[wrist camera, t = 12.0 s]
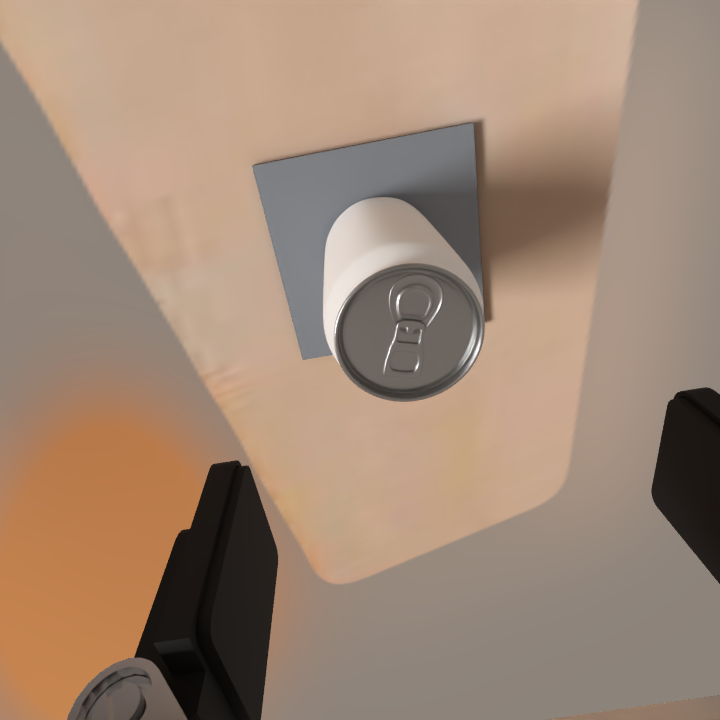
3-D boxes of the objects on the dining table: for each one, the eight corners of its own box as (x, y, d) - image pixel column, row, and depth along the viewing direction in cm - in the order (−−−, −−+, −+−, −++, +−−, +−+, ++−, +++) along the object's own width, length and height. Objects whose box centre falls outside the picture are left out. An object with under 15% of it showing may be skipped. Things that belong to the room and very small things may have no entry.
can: (444, 202, 27) (517, 262, 17) (423, 308, 30) (473, 416, 20) (330, 188, 27) (331, 241, 16) (320, 298, 29) (314, 405, 19)
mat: (253, 164, 26) (252, 166, 26) (470, 122, 26) (473, 122, 25) (303, 355, 32) (302, 360, 31) (482, 323, 32) (484, 327, 31)
